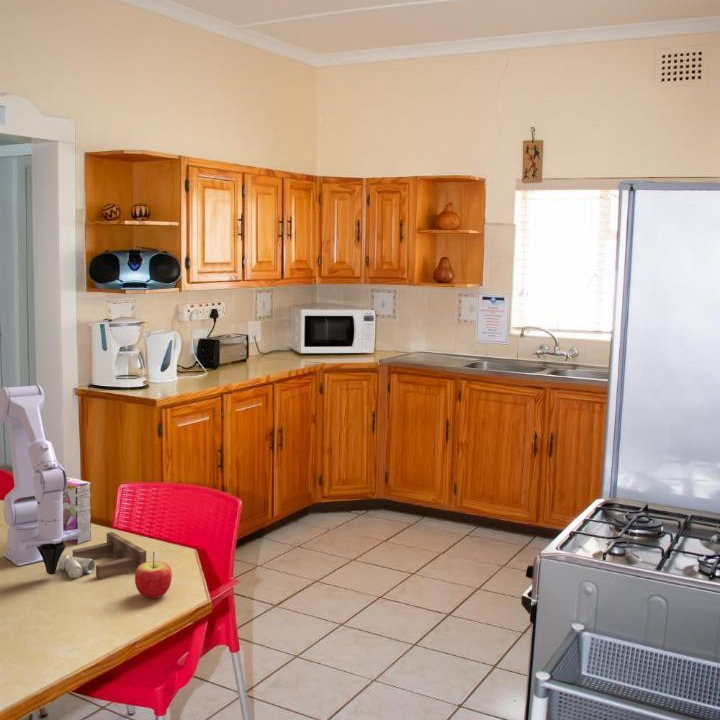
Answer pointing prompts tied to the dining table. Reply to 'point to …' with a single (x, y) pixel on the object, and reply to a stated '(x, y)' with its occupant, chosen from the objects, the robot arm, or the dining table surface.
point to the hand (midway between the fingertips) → (51, 573)
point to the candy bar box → (77, 508)
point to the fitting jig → (119, 548)
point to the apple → (153, 578)
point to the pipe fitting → (76, 565)
